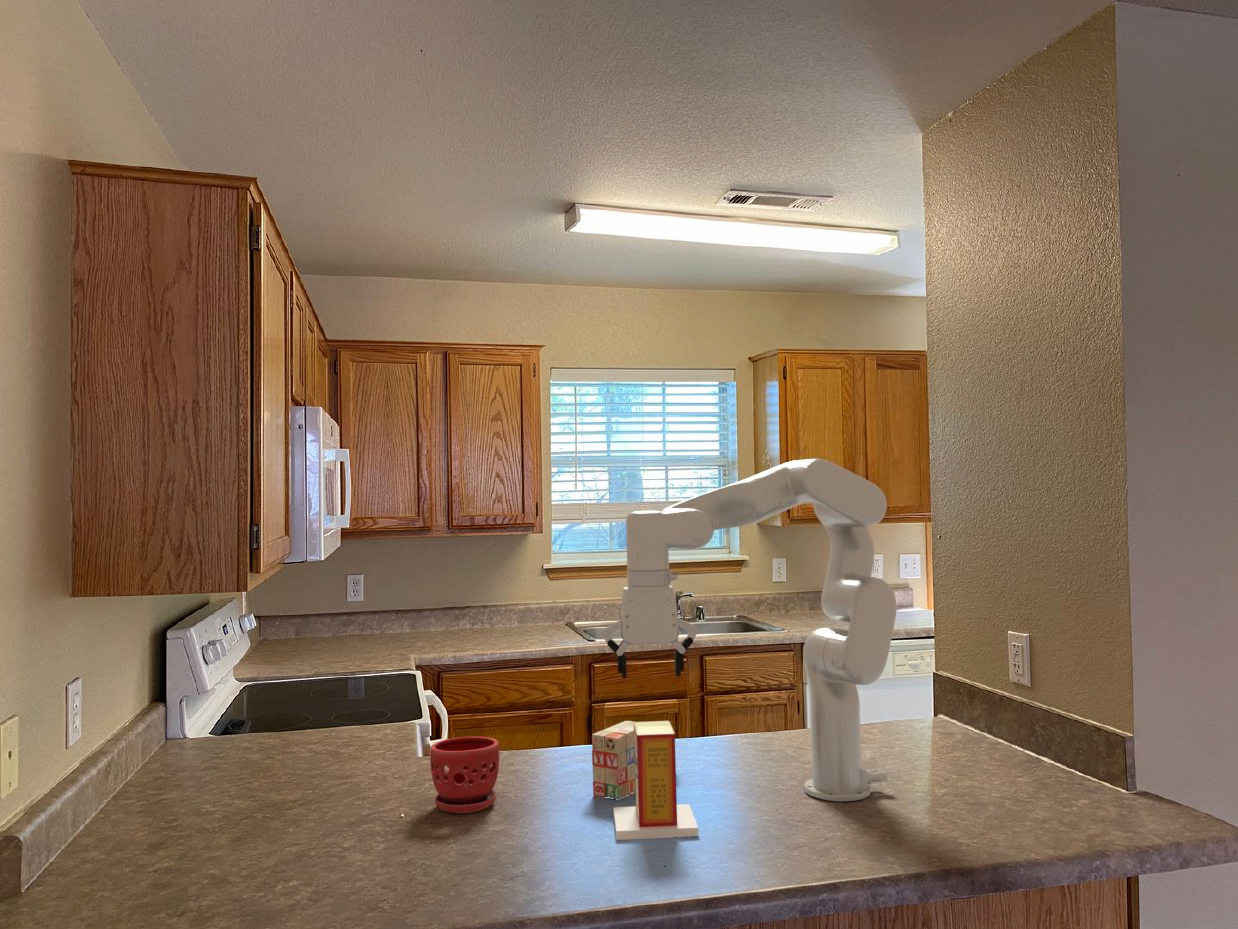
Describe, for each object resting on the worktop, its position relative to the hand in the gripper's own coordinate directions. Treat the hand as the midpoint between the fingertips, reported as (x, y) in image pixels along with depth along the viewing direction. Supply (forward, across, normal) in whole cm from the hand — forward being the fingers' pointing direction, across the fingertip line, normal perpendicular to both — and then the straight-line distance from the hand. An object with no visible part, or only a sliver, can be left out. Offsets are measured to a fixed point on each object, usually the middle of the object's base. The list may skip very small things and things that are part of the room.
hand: (651, 676), depth 160 cm
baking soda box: (+25, 0, 0) cm, 25 cm away
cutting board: (+26, 0, 0) cm, 26 cm away
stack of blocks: (+27, +2, -24) cm, 36 cm away
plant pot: (+26, +35, -15) cm, 46 cm away
